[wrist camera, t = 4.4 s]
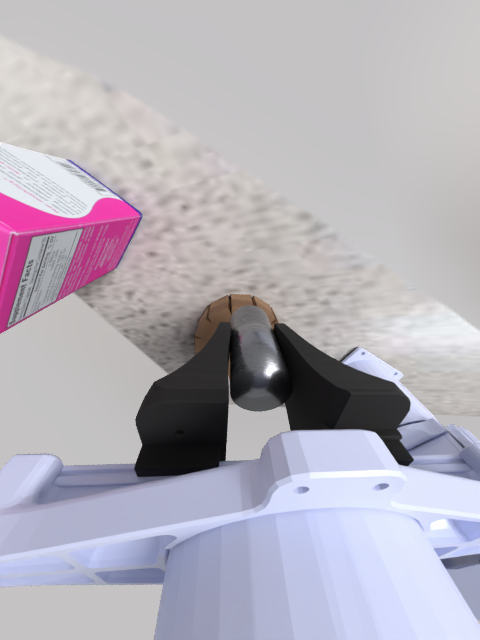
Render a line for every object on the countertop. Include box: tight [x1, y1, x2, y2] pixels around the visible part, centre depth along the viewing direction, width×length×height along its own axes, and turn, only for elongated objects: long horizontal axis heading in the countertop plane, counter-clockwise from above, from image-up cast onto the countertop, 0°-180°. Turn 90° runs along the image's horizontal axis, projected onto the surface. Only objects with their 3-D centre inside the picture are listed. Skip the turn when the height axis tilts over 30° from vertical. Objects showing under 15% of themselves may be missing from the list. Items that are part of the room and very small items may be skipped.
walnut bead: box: [195, 294, 279, 379], centre depth 21 cm, size 9×9×3 cm
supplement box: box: [0, 142, 142, 333], centre depth 11 cm, size 6×6×12 cm
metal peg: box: [230, 305, 293, 411], centre depth 11 cm, size 3×3×6 cm
